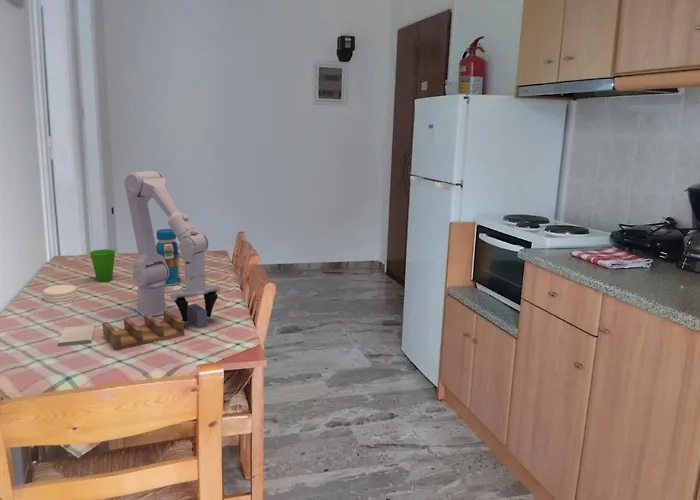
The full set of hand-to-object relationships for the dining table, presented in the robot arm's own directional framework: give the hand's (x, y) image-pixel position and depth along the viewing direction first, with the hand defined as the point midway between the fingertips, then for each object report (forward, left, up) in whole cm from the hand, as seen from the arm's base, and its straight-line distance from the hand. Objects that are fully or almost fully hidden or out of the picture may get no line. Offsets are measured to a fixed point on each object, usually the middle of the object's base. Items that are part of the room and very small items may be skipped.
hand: (196, 318), depth 166 cm
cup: (-63, -9, -2) cm, 64 cm away
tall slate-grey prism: (0, 0, -2) cm, 2 cm away
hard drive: (-9, -31, -2) cm, 32 cm away
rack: (+1, -16, -1) cm, 16 cm away
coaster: (-49, -27, -2) cm, 56 cm away
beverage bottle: (-46, +9, -2) cm, 47 cm away
